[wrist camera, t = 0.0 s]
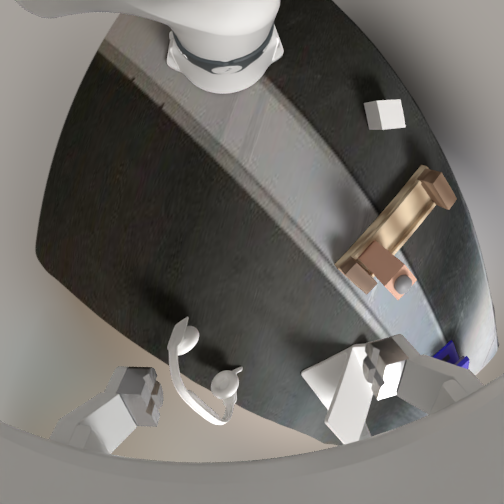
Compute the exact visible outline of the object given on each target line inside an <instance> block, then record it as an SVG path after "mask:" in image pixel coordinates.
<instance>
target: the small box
mask: <svg viewBox="0 0 504 504" xmlns="http://www.w3.org/2000/svg"><path fill="white" fill-rule="evenodd" d="M369 437H371V434H370V432H369V429H368V427H367V425H366V422H365V423H364V426H363V429H362V432H361V435H360V438H359V440H363V439H366V438H369Z"/></svg>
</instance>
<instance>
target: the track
mask: <svg viewBox="0 0 504 504" xmlns="http://www.w3.org/2000/svg"><path fill="white" fill-rule="evenodd" d="M456 200H457V198H456V197H455V195H454V193H453V191H452V189H451V188H450V186H449V184H448V183H447V181H446V179H445V177H444V176H443V174H442V173H441V172H438V171H434V170H430V169H429V168H428V167H427V166H424V165H421V166H420V167H419V168H418V169H417V171H416V172H415V173H414V174H413V176H412V177H411V178H410V179H409V180H408V182H407V183H406V184H405V185H404V187H403V188H402V189H401V190H400V191H399V193H398V194H397V195H396V196H395V197H394V199H393V200H392V201H391V202H390V203H389V205H388V206H387V207H386V208H385V209H384V210H383V211H382V213H381V214H380V215H379V216H378V217H377V218H376V220H375V221H374V222H373V223H372V224H371V225H370V226H369V227H368V229H367V230H366V231H365V232H364V233H363V234H362V235H361V236H360V237H359V239H358V240H357V241H356V242H355V243H354V244H353V245H352V246H351V247H350V248H349V249H348V251H347V252H346V253H345V254H344V255H343V256H342V257H341V258H340V259H339V260H338V261H337V262H336V263H335V264H334V265H335V266H336V267H337V269H338V270H339V271H341V272H342V273H343V274H344V275H345V276H346V277H347V278H348V279H349V280H351V281H352V282H353V283H354V284H355V285H356V286H357V287H358V288H360V289H361V290H362V291H363V292H364V293H365V294H368V293H369V292H370V291H371V290H372V289H373V288H374V287H375V285H376V284H377V282H376V281H375V280H374V279H373V278H372V277H374V276H375V275H374V274H373V273H372V272H371V271H370V270H369V269H368V268H367V267H366V266H365V265H364V264H363V263H362V262H361V261H360V259H359V258H358V257H359V256H360V255H361V254H362V252H363V251H364V250H365V249H366V248H367V247H368V246H369V245H370V244H371V243H372V241H373V240H375V241H377V242H378V243H379V244H380V245H382V246H383V247H384V248H385V249H387V250H388V251H389V252H390V253H391V254H393V255H395V254H396V252H397V251H398V250H399V249H400V248H401V247H402V246H403V244H404V243H405V242H406V241H407V240H408V239H409V237H410V236H411V235H412V234H413V233H414V231H415V230H416V229H417V228H418V227H419V225H420V224H421V223H422V222H423V221H424V219H425V218H426V217H427V216H428V214H429V213H430V212H431V210H432V209H433V208H434V207H435V205H438V206H441V207H443V208H445V209H447V210H449V209H450V208H451V207H452V205H453V204H454V202H455V201H456ZM371 276H372V277H371Z"/></svg>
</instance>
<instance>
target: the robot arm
mask: <svg viewBox="0 0 504 504" xmlns="http://www.w3.org/2000/svg"><path fill="white" fill-rule="evenodd" d="M15 1H16V2H17V3H18V4H19V5H20V6H21V7H22V8H24V9H25V10H27V11H28V12H30V13H32V14H35V15H37V16H40V17H43V18H57V17H62V16H67V15H73V14H80V13H89V12H113V13H123V14H129V15H134V16H139V17H143V18H147V19H151V20H154V21H157V22H160V23H163V24H166V25H168V26H169V27H170V28H171V29H172V31H170V33H169V39H170V44H169V49H168V55H167V65H168V66H169V67H170V68H172V69H174V70H176V71H179V72H181V73H183V74H184V75H185V76H186V77H187V78H188V79H189V80H190V81H191V82H192V83H193V84H194V85H196V86H197V87H199V88H201V89H203V90H205V91H208V92H213V93H221V94H225V93H234V92H238V91H241V90H244V89H246V88H248V87H250V86H251V85H253V84H254V83H255V82H257V81H258V80H259V79H260V78H261V77H262V75H263V74H264V73H265V71H266V69H267V68H268V66H269V65H270V64H271V63H273V62H275V61H276V60H278V59H279V58H280V57H281V56H282V55H283V52H284V50H283V47H282V44H281V41H280V38H279V36H278V33H277V30H276V28H275V25H274V19H275V17H276V14H277V12H278V9H279V6H280V0H15ZM365 352H366V354H367V356H366V357H365V358H364V360H363V366H362V367H363V374H364V377H365V379H366V381H367V382H369V383H371V384H372V387H371V390H372V391H373V393H374V395H375V396H376V398H377V400H379V399H382V398H386V397H389V396H393V395H396V396H398V397H400V398H401V399H403V400H405V401H407V402H408V403H410V404H412V405H413V406H415V407H417V408H418V409H420V410H422V411H424V412H425V413H427V414H429V415H428V416H425V417H423V418H421V419H418V420H416V421H414V422H411V423H409V424H406V425H404V426H401V427H398V428H396V429H393V430H390V431H387V432H384V433H381V434H378V435H375V436H372V437H369V438H366V439H363V440H359V441H356V442H352V443H348V444H345V445H341V446H337V447H333V448H328V449H324V450H319V451H314V452H309V453H304V454H299V455H292V456H286V457H279V458H271V459H262V460H252V461H238V462H215V463H214V462H213V463H196V462H195V463H194V462H169V461H156V460H146V459H137V458H129V457H123V456H117V455H111V452H113V450H115V449H116V448H117V447H118V446H119V445H120V444H121V442H123V441H124V440H125V439H126V438H127V436H129V434H130V433H131V432H132V431H133V430H134V429H135V428H136V427H137V426H155V427H157V424H158V420H159V416H160V413H159V411H158V409H159V408H160V407H161V406H162V404H163V391H162V387H161V384H160V383H159V382H158V381H156V377H157V374H156V372H155V369H154V368H152V367H122V366H121V367H120V366H118V367H117V368H116V369H115V371H114V373H113V375H112V377H111V379H110V381H109V383H108V385H107V387H106V389H105V391H104V393H99V394H97V395H96V396H94V397H93V398H91V399H90V400H88V401H87V402H85V403H84V404H82V405H81V406H79V407H77V408H76V409H74V410H73V411H71V412H70V413H68V414H67V415H65V416H63V417H62V418H60V419H59V421H58V423H57V425H56V427H55V429H54V431H53V432H52V434H51V436H50V438H49V439H46V438H43V437H40V436H37V435H34V434H32V433H29V432H26V431H24V430H21V429H18V428H16V427H13V426H11V425H8V424H6V423H4V422H2V421H0V504H504V374H502V375H501V376H499V377H498V378H496V379H495V380H493V381H491V382H490V383H488V384H487V385H485V386H484V385H483V384H482V383H481V382H480V380H479V379H478V378H477V377H476V376H475V375H474V374H473V373H472V372H471V371H470V370H469V369H466V368H463V367H460V366H456V365H453V364H451V363H448V362H445V361H442V360H439V359H436V358H433V357H430V356H427V355H424V354H423V355H420V354H419V353H418V352H417V351H416V349H415V348H414V347H413V346H412V345H411V344H410V343H409V342H408V341H407V339H406V338H405V337H404V336H403V335H401V334H398V335H394V336H391V337H389V338H384V339H380V340H376V341H372V342H368V343H367V344H366V346H365Z"/></svg>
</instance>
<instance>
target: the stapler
mask: <svg viewBox="0 0 504 504" xmlns="http://www.w3.org/2000/svg"><path fill="white" fill-rule="evenodd" d="M433 358H436V359H439V360H442V361H445V362H448V363H451V364H453V365H456V366H460V367H463V368H466V369H468V365H469V358H468V357H467V356H466V357H465V358H464V356H462V357H461V358H460V359H459V356H458V354H457V351H456V348H455V346H454V343H453V341H452V340H451V341H450V342H448V343H447V344H446V345H445V346H444V347H443V348H442V349H441V350H440V351H439V352H438V353H436V354H435V355H434V356H433Z"/></svg>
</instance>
